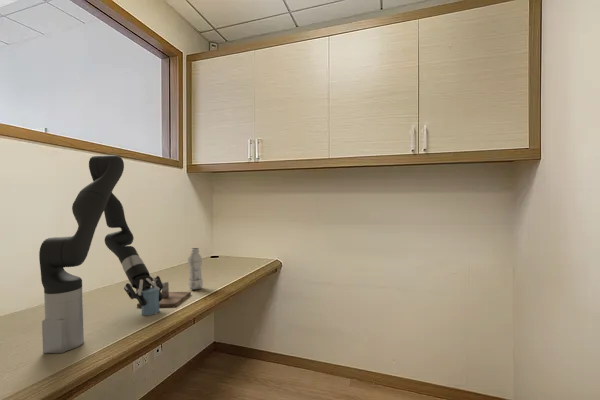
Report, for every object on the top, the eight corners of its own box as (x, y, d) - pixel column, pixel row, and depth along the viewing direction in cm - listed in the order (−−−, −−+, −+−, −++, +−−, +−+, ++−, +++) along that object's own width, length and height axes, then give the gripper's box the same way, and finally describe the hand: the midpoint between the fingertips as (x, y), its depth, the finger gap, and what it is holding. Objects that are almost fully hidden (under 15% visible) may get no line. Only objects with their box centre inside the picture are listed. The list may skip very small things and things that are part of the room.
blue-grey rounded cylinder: (154, 315, 117) (153, 291, 117) (138, 315, 117) (137, 292, 117) (162, 309, 123) (161, 287, 123) (147, 310, 123) (146, 287, 123)
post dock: (175, 307, 126) (174, 287, 126) (137, 307, 126) (136, 288, 126) (190, 294, 142) (190, 277, 142) (156, 295, 142) (156, 278, 142)
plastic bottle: (198, 291, 147) (197, 249, 147) (186, 290, 148) (184, 249, 148) (205, 287, 153) (204, 247, 153) (193, 287, 154) (192, 247, 154)
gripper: (120, 266, 118) (138, 302, 111) (155, 259, 130) (173, 291, 124) (113, 278, 121) (131, 314, 114) (148, 271, 133) (165, 302, 126)
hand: (153, 302), depth 119 cm, fingers closed on blue-grey rounded cylinder, 6 cm apart
